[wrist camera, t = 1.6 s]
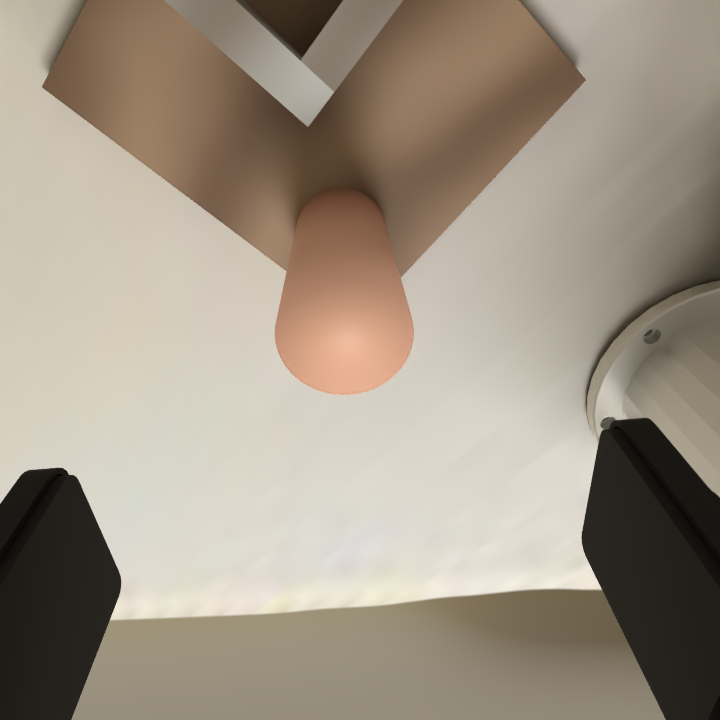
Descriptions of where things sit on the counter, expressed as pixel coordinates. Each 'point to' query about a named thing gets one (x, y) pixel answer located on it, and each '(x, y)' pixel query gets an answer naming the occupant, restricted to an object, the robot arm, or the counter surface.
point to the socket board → (316, 103)
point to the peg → (343, 297)
